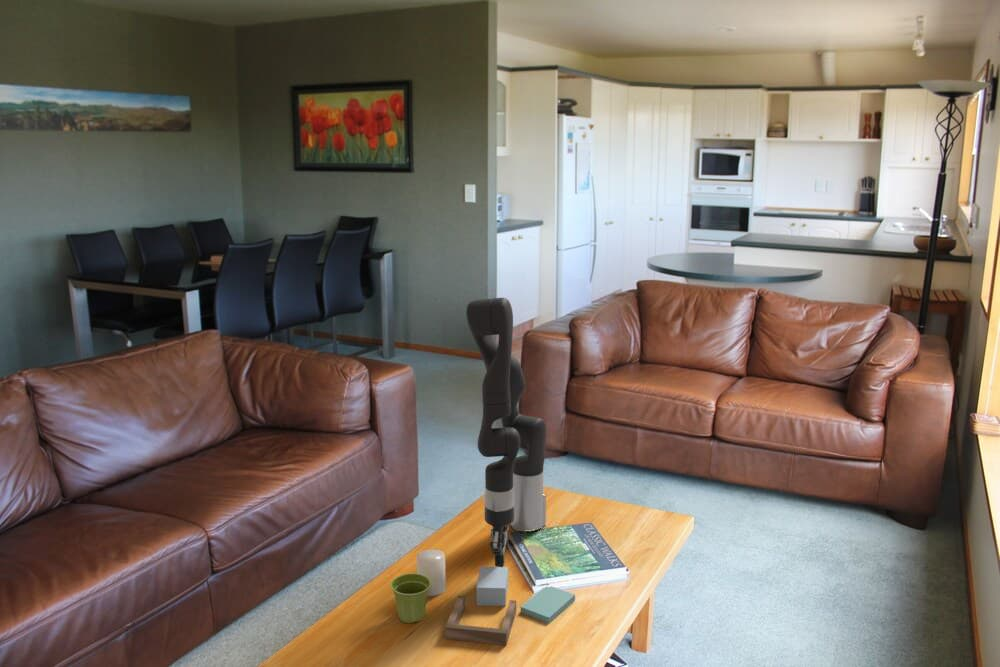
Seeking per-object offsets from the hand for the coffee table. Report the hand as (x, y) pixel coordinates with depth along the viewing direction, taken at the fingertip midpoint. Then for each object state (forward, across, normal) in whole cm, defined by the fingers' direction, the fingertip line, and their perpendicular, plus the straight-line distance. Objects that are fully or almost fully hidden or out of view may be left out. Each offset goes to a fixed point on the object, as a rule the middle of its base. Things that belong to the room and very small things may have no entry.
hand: (499, 565), depth 214 cm
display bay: (+3, +22, 0) cm, 23 cm away
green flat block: (+3, +13, +14) cm, 19 cm away
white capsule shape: (+3, +10, -16) cm, 19 cm away
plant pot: (+3, +22, -17) cm, 28 cm away
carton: (+3, +10, 0) cm, 10 cm away
